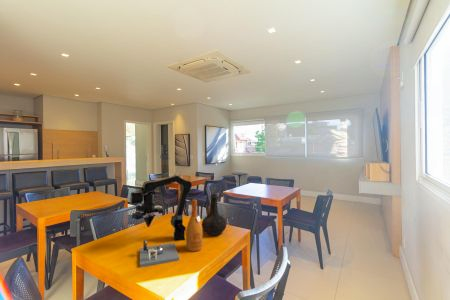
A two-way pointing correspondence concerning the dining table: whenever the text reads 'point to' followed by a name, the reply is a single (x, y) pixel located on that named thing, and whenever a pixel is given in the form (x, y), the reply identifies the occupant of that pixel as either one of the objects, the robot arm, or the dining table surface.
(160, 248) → the grey metal rounded piece
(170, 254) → the stand
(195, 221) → the brown tall rounded piece
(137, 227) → the dining table surface
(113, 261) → the dining table surface
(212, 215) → the glass bottle
